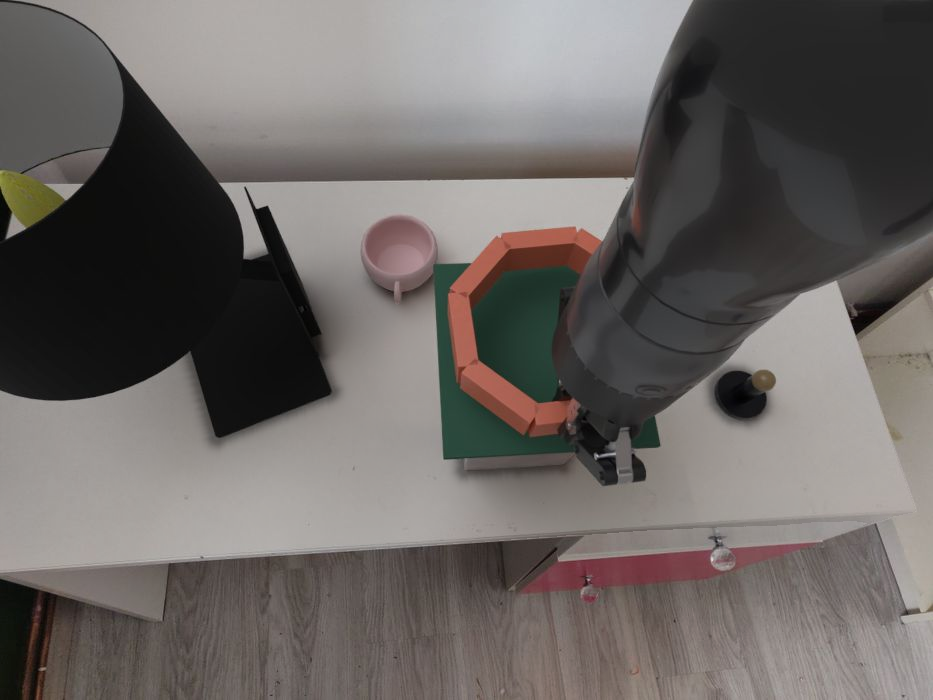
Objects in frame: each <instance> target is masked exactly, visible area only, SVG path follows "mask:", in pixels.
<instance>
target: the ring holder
mask: <svg viewBox="0 0 933 700" xmlns="http://www.w3.org/2000/svg"><path fill="white" fill-rule="evenodd" d="M776 384H777V377H776V375H775V374H774V373H773V371H771V370H768V369H759V370H756V371H755V372H754V373H753V374H751V373H749V372H747V371H743V370H731V371H727V372H725V373H724V374H723V375H722V376H720V377H719V378H718V380H717V381H716V383H715V385H714V397H715V400H716V403H717V405H718V407H720V409H721V410H722V411H723V412H724V413H725V414H727V415H728V416H730V417H731V418H734V419H737V420H743V421H746V420H752V419H754V418H756V417H758V416H759V415H761V414H762V413H763V412H764V410H765V408H766V406H767V401H768V400H767V392H770V391H771V390H773V388H774V387H776Z"/></svg>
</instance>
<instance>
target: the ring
mask: <svg viewBox="0 0 933 700" xmlns="http://www.w3.org/2000/svg"><path fill="white" fill-rule="evenodd" d="M602 241H603V240H601V239H600V238H598V237H596V236H595V235H593V234H592V233H590V232H589V231H587V230H586V229H584V228H582V227H581V228H580V229H579V230H577V227H576V226H566V227H565V226H563V227H556V228H555V227H554V228H553V227H552V228H542V229H531V230H522V231H521V230H520V231H519V230H518V231H509V232H501V235H500V237H499V236H498V235H495V236H494V238H493V239H492V240H491V241H490V242H489V243H488V244H487V246H486V247H485V248H484V249H483V250H482V251H481V252H480V253H479V254H478V255H477V257H476V258H475V259H474V260H472V262H471V263H472V264H471V265H470V266H469V267H468V268H467V269H466V270H465V271H464V272H463V274H462V275H461V276H460V277H459V278H458V279H457V280H456V281H455V283H454V284H453V285H452V286H451V287H450V293H448V321H449V328H450V336H451V343H452V351H453V358H454V366H455V373H456V381H457V383H460V389H462V390H463V391H464V392H466V393H467V394H468V395H470V396H471V397H472V398H474V399H475V400H476V401H478V402H479V403H480V404H482V405H483V406H485V407H486V408H487V409H489V410H490V411H491V412H493V413H494V414H495V415H497V416H498V417H499V418H501V419H502V420H503V421H505V422H506V423H507V424H509V425H510V426H511V427H513V428H514V429H515V430H517V431H518V432H519V433H521V434H522V435H525V433H526V432H527V430H528V431H529V436H530V437H536V436H544V435H552V434H558V431H557V429H558V428H559V427H560V425H561V424H562V423H563V421H564V419H565V418H566V417H568V416H569V415H568V411H567V406H568V404H569V403H570V401H571V400H567V401H555V402H546V403H537V402H536V401H534V400H533V399H531V398H530V397H529V396H527V395H526V394H525V393H523V392H522V391H520V390H519V389H518V388H516V387H515V386H513V385H512V384H511V383H509V382H508V381H507V380H505V379H504V378H502V377H501V376H500V375H498V374H497V373H496V372H494V371H493V370H491V369H490V368H489V367H487V366H486V365H485V364H483V363H482V362H480V361H479V359H478V353H477V346H476V339H475V333H474V326H473V319H472V313H471V310H472V309H473V308H474V307H475V306H476V305H477V303H478V302H479V301H480V300H481V299H482V298H483V296H484V295H485V294H486V293H487V292H488V291H489V289H490V288H491V287H492V286H493V285H494V284H495V283H496V281H497V280H498V279H499V278H500V277H501V276H502V274H503V273H504V272H505V271H515V270H525V269H536V268H546V267H556V266H568V267H569V268H571V269H572V270H574V271H575V272H577V273H578V274H580V275H581V273H582V271H583V269H584V267H585V265H586V263H587V261H588V260H589V258H590V257H591V255H592V254H593V253H594V251H595V250H596V248H597V247H598V246H599V245H600V243H601V242H602Z"/></svg>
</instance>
